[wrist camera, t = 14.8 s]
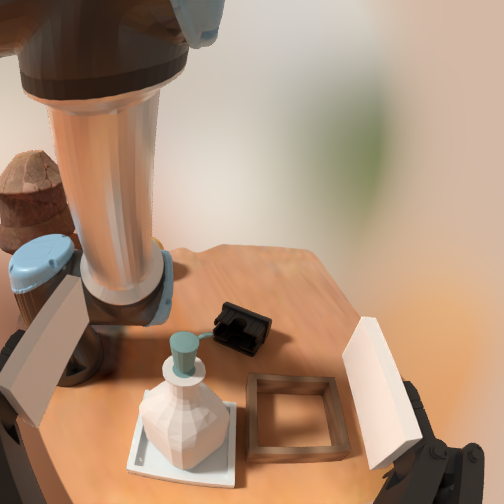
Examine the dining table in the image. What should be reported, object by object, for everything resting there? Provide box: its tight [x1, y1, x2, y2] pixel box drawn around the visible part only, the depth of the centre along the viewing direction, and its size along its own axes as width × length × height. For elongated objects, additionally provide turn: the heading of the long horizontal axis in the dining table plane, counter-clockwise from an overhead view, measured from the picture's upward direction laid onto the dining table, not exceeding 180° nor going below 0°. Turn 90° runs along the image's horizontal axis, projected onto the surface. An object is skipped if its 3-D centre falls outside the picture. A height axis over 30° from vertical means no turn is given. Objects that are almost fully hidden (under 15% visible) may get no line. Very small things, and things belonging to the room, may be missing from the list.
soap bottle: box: [139, 331, 230, 470], centre depth 33 cm, size 10×10×23 cm
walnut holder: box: [246, 373, 351, 463], centre depth 44 cm, size 15×15×4 cm
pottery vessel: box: [0, 150, 75, 255], centre depth 66 cm, size 26×26×30 cm
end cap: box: [213, 302, 272, 357], centre depth 60 cm, size 10×7×7 cm
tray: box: [126, 390, 237, 489], centre depth 39 cm, size 15×15×2 cm
